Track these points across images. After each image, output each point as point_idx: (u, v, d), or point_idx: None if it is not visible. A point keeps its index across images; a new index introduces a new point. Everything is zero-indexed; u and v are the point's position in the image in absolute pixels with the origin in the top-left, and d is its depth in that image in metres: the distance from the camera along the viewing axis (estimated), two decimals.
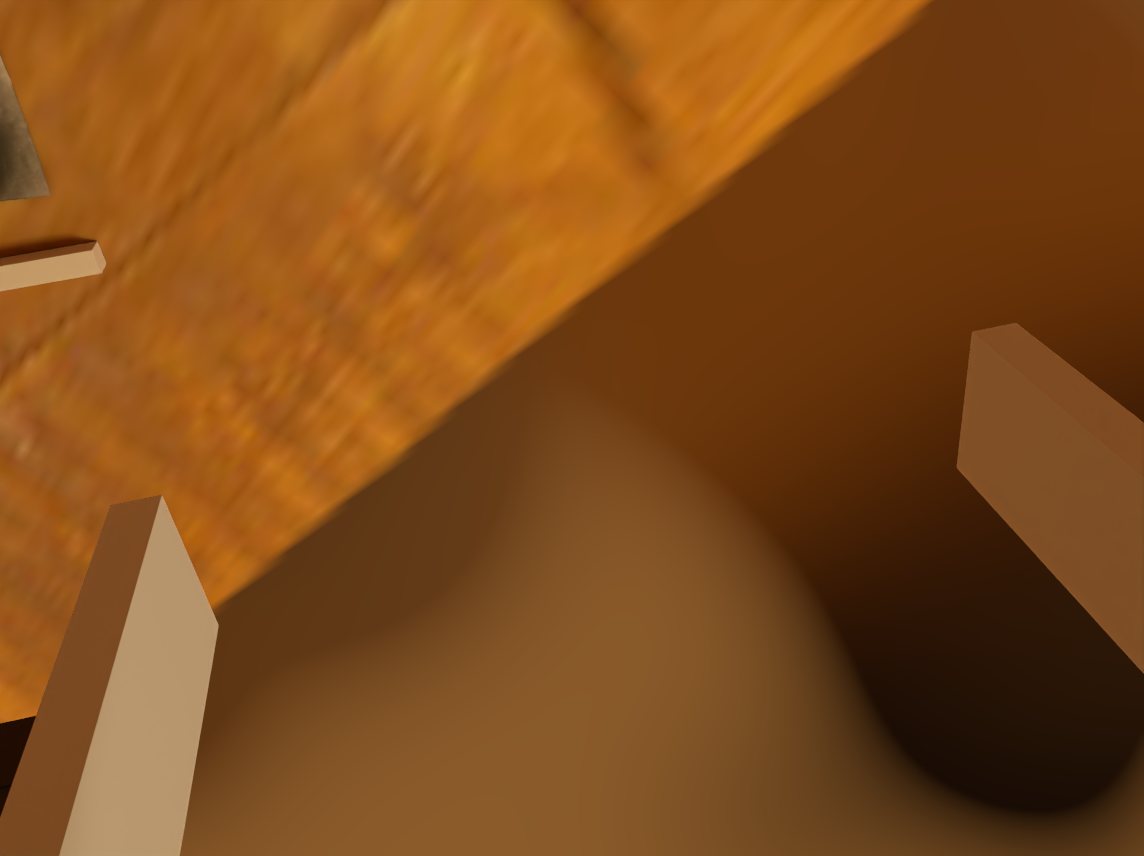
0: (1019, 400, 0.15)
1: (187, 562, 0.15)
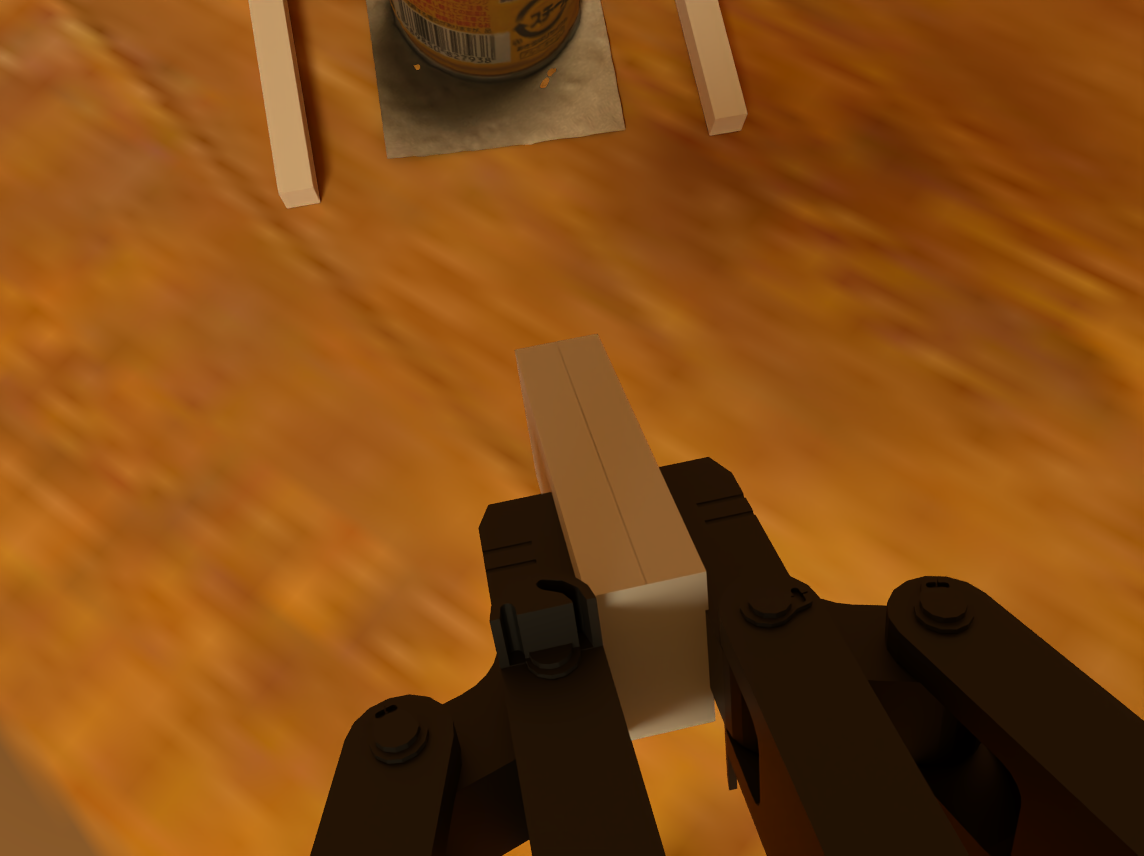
0: None
1: None
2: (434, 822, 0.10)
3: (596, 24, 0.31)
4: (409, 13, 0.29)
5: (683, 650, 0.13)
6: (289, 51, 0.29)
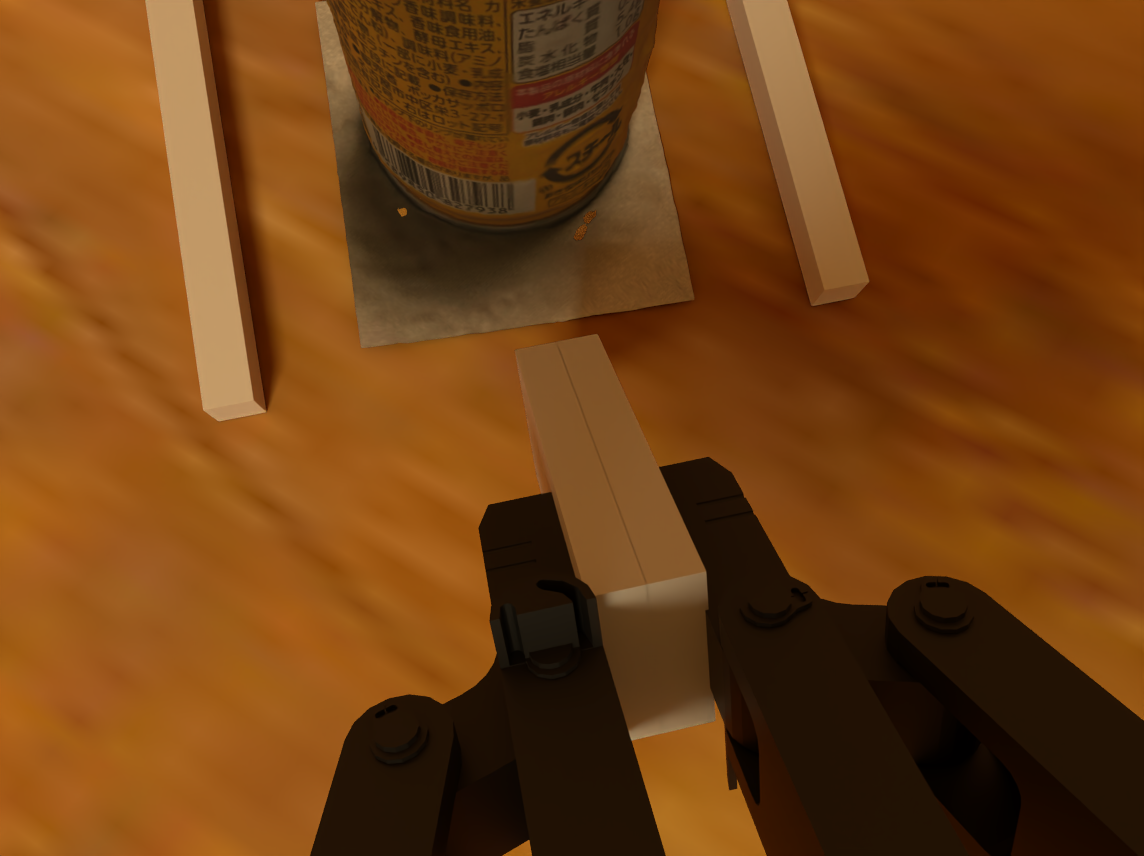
0: None
1: None
2: (434, 822, 0.10)
3: (651, 149, 0.23)
4: (390, 150, 0.20)
5: (683, 650, 0.13)
6: (220, 199, 0.21)
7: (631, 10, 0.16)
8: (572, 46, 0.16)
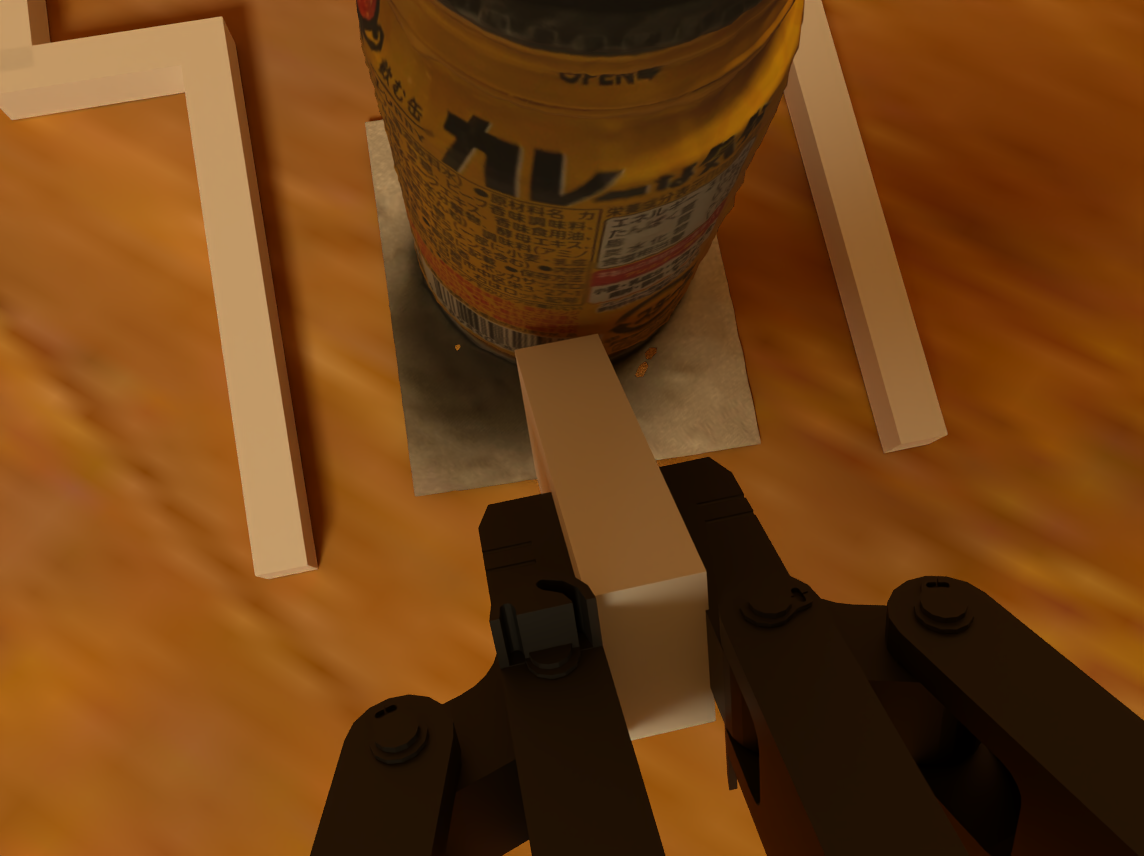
0: None
1: None
2: (434, 822, 0.10)
3: (714, 280, 0.22)
4: (450, 299, 0.19)
5: (683, 650, 0.13)
6: (271, 346, 0.20)
7: (723, 194, 0.15)
8: (661, 236, 0.15)
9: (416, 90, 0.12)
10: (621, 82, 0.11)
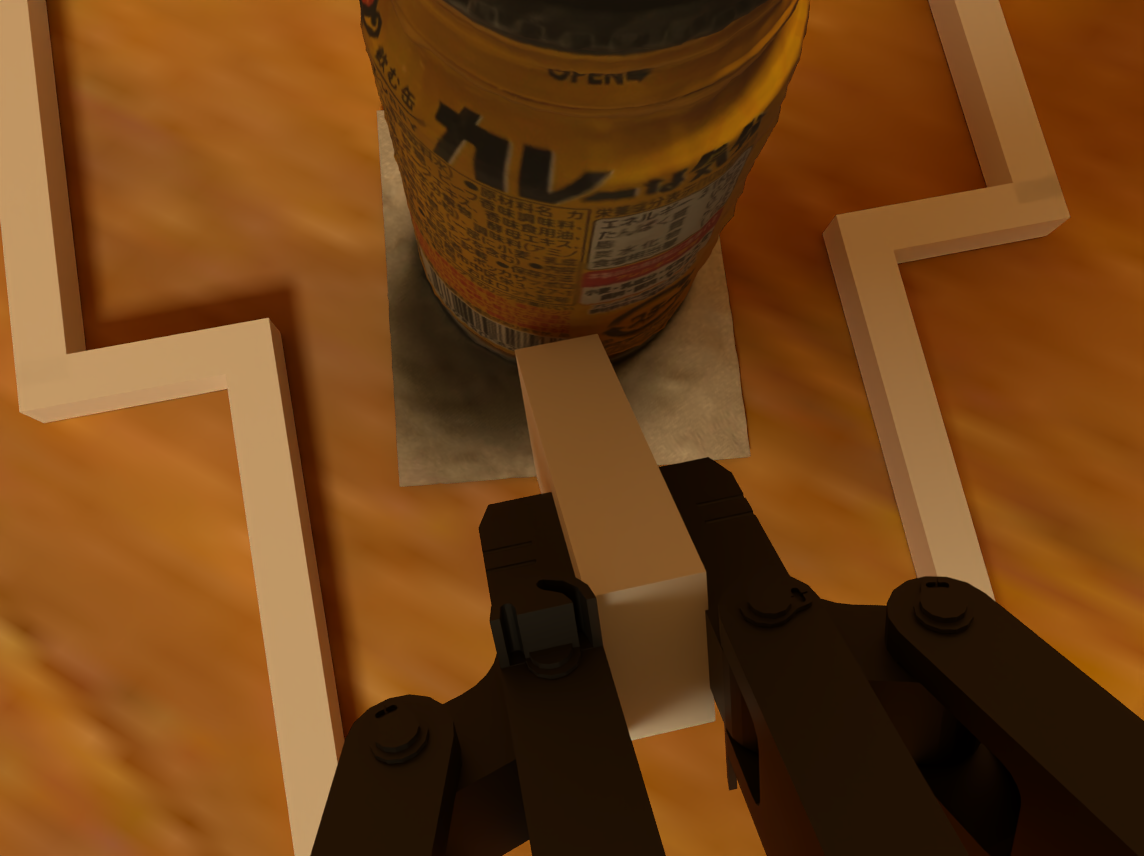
0: None
1: None
2: (434, 822, 0.10)
3: (715, 290, 0.22)
4: (446, 292, 0.19)
5: (683, 650, 0.13)
6: (324, 696, 0.19)
7: (718, 202, 0.15)
8: (653, 241, 0.15)
9: (409, 78, 0.12)
10: (610, 83, 0.11)
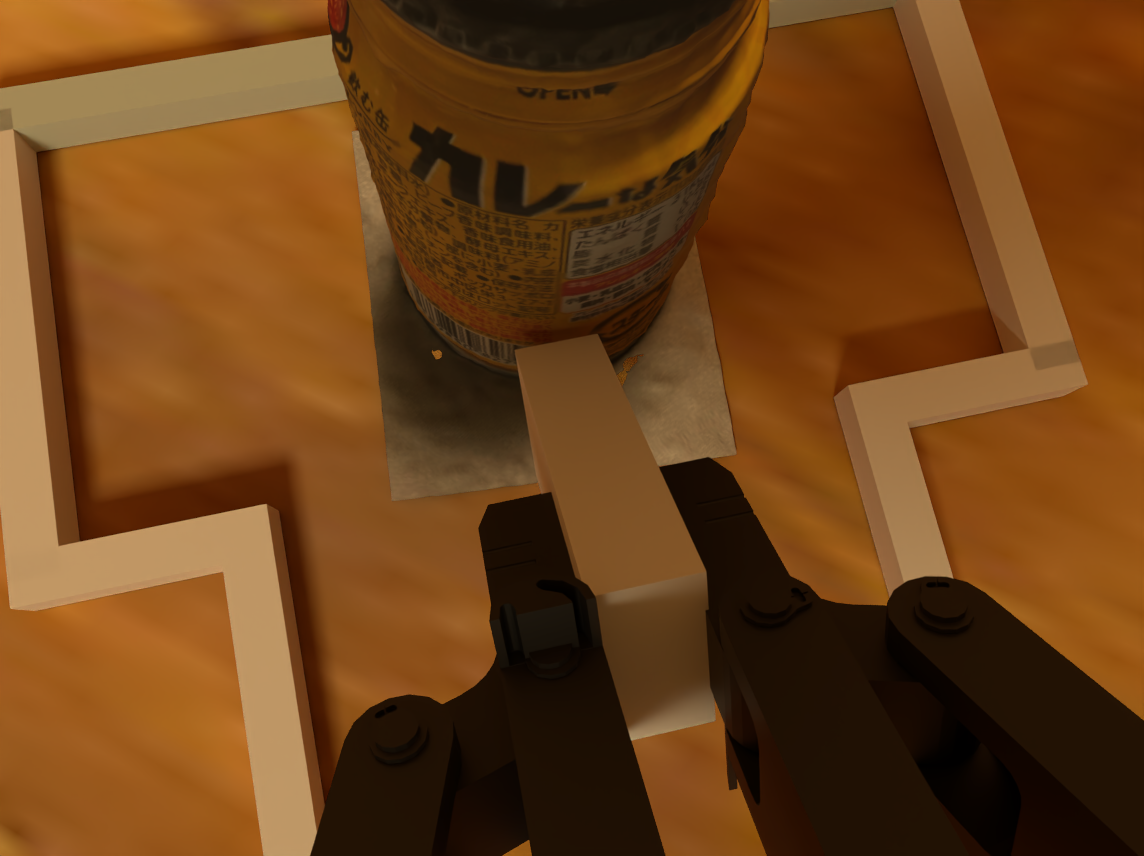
0: None
1: None
2: (434, 822, 0.10)
3: (694, 292, 0.22)
4: (428, 306, 0.19)
5: (683, 650, 0.13)
6: None
7: (691, 207, 0.15)
8: (629, 248, 0.15)
9: (383, 101, 0.12)
10: (579, 97, 0.11)
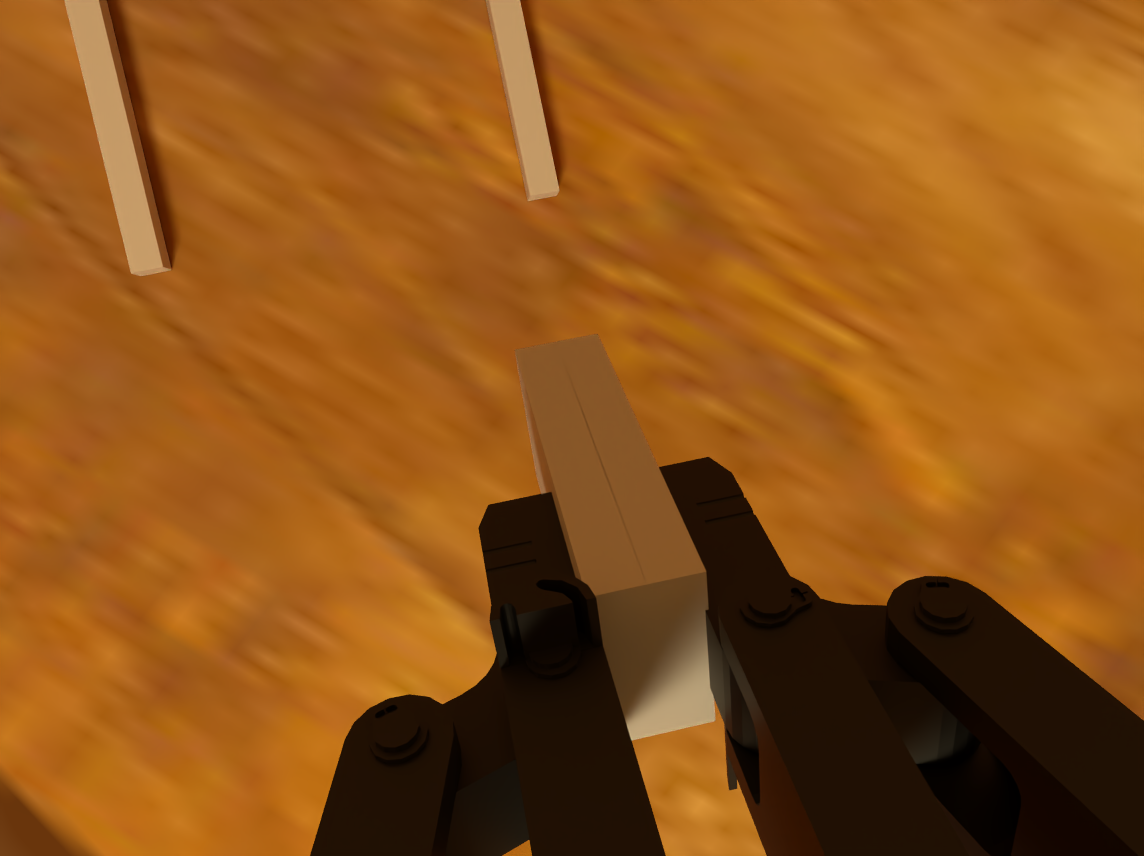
0: None
1: None
2: (434, 822, 0.10)
3: None
4: None
5: (683, 651, 0.13)
6: (127, 127, 0.31)
7: None
8: None
9: None
10: None
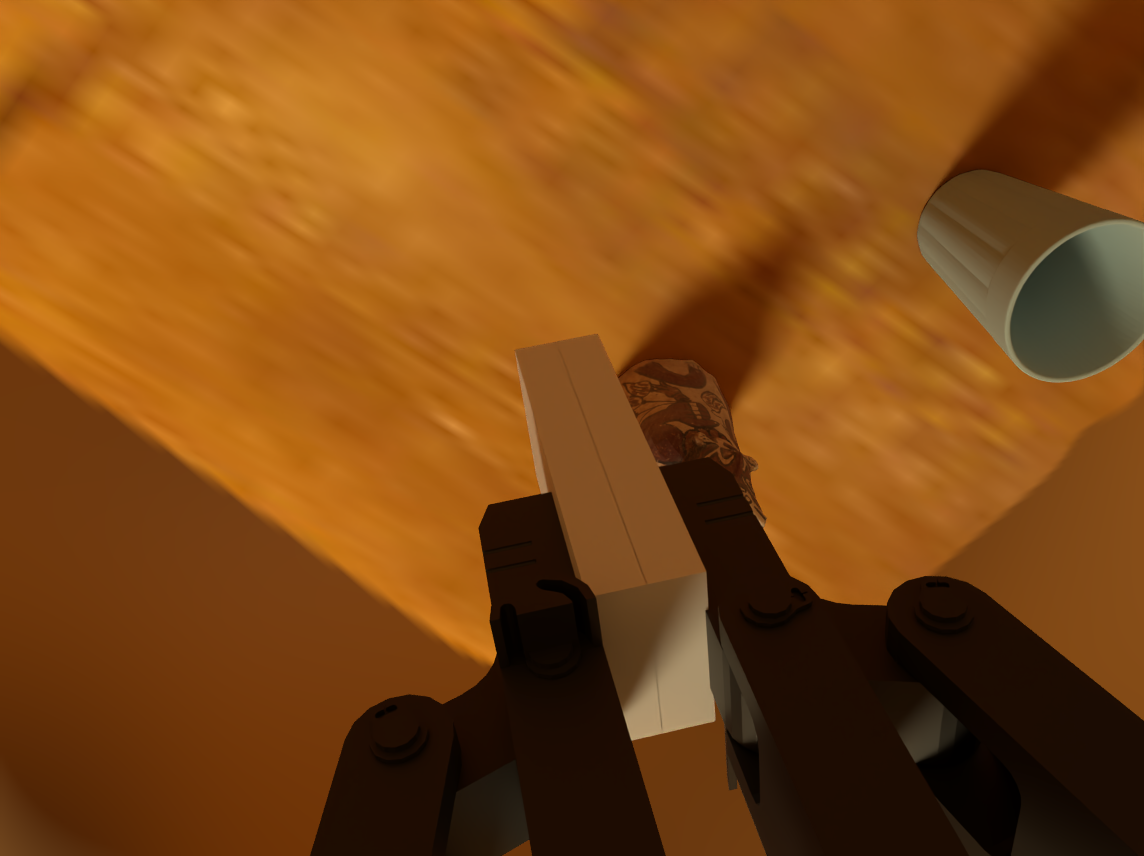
0: None
1: None
2: (434, 822, 0.10)
3: None
4: None
5: (683, 650, 0.13)
6: None
7: None
8: None
9: None
10: None
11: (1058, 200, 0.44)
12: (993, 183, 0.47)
